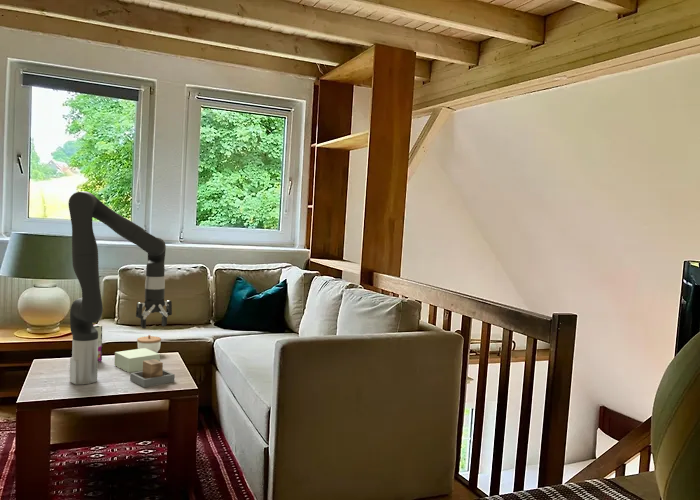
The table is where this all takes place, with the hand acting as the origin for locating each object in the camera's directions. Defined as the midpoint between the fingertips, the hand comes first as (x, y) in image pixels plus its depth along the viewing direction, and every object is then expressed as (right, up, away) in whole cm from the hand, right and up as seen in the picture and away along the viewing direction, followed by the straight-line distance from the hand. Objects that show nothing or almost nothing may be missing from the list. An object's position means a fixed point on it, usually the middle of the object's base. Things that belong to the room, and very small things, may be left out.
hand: (153, 327), depth 229 cm
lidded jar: (-17, -19, +43) cm, 50 cm away
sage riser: (-15, -20, +21) cm, 33 cm away
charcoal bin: (-1, -22, +1) cm, 22 cm away
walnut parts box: (-1, -22, +1) cm, 22 cm away
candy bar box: (-38, -19, +24) cm, 49 cm away
